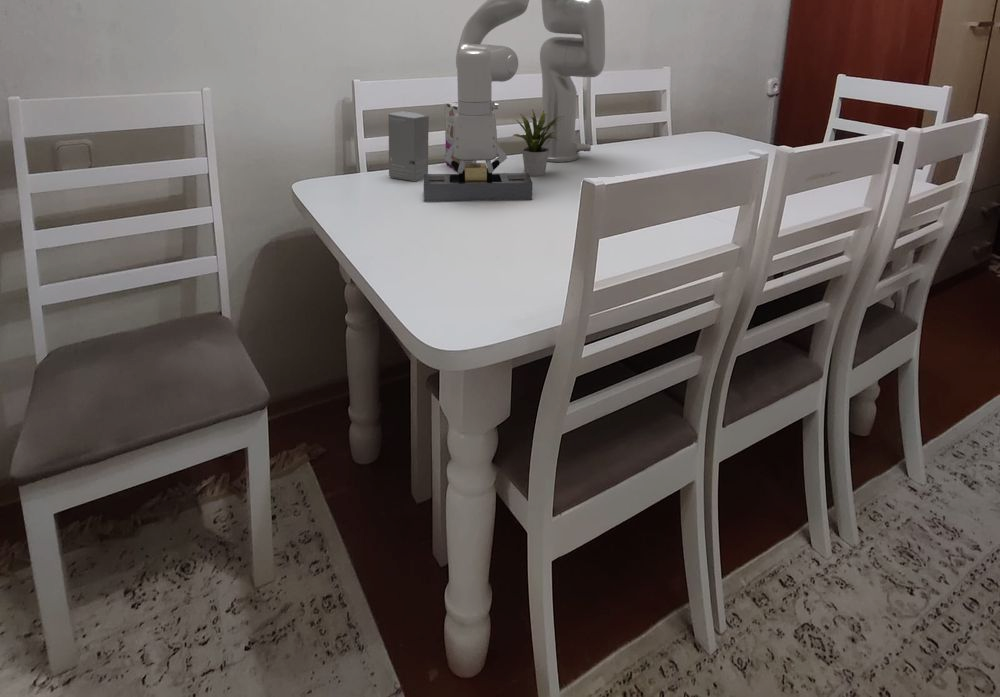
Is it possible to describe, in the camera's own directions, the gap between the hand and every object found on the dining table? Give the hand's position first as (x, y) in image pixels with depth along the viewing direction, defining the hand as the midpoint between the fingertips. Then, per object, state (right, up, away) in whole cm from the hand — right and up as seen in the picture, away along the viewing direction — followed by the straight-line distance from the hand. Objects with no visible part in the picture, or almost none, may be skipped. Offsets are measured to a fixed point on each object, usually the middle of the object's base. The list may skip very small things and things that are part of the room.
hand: (475, 187), depth 167 cm
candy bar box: (-5, +10, +24) cm, 26 cm away
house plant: (+16, +7, +18) cm, 25 cm away
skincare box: (-17, +6, +15) cm, 24 cm away
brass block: (0, -1, 0) cm, 1 cm away
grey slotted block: (+1, -2, +1) cm, 2 cm away
